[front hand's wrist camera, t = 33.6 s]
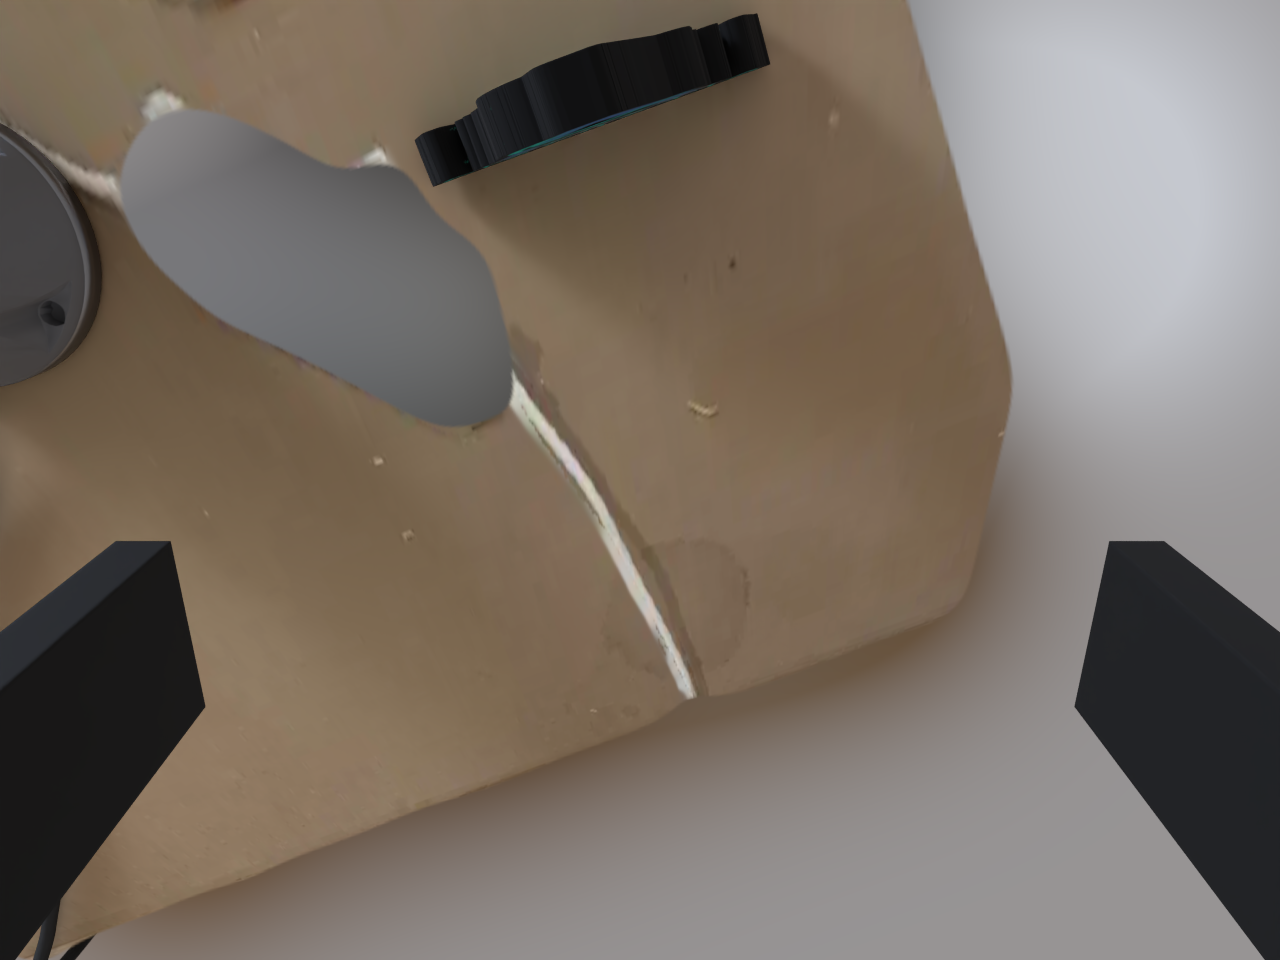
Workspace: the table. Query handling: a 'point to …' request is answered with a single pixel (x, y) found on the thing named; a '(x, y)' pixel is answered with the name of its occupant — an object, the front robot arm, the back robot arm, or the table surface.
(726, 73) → the decorative sign
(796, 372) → the table surface
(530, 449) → the table surface
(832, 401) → the table surface
